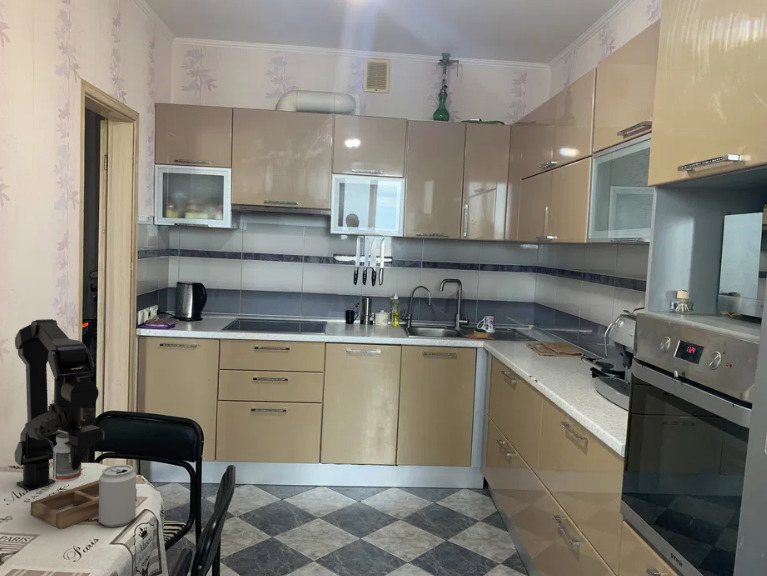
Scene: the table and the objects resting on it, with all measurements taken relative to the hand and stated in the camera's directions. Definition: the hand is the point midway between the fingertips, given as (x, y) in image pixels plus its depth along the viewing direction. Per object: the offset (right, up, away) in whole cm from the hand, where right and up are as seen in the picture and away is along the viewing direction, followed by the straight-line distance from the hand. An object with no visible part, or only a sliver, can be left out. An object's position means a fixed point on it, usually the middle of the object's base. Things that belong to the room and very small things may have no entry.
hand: (67, 466), depth 131 cm
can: (+12, -12, -2) cm, 17 cm away
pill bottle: (0, -3, 0) cm, 3 cm away
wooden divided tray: (+2, -11, +4) cm, 12 cm away
